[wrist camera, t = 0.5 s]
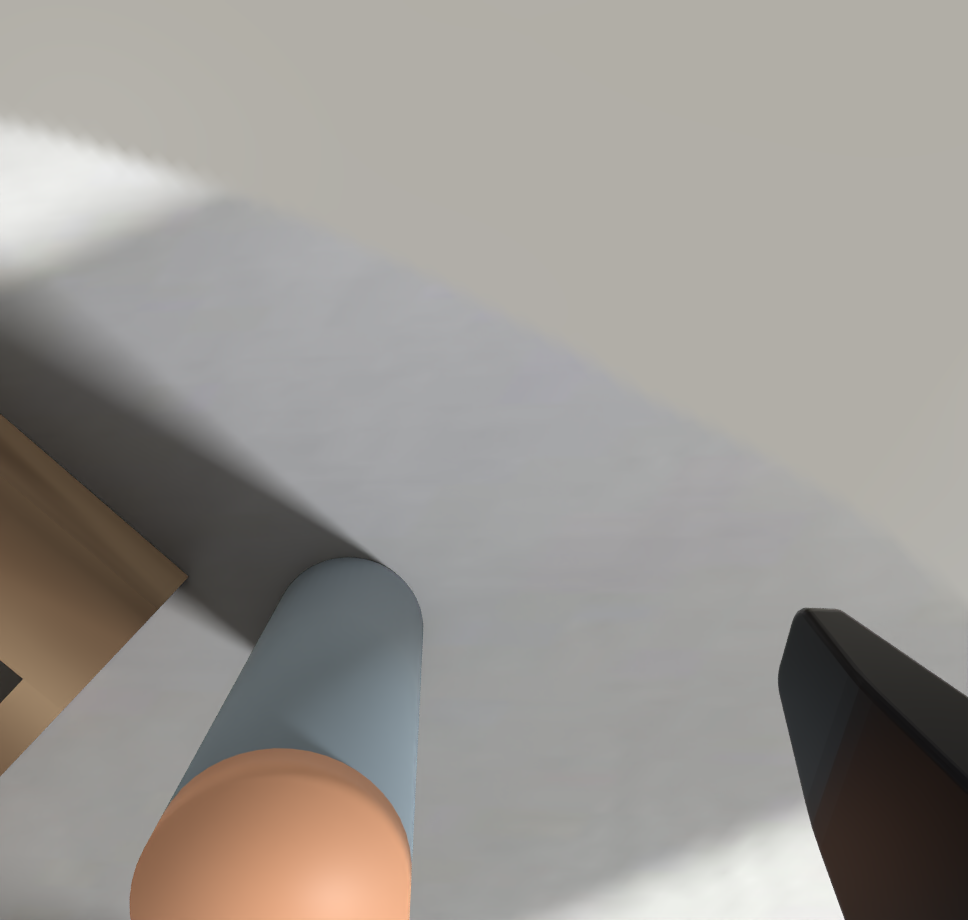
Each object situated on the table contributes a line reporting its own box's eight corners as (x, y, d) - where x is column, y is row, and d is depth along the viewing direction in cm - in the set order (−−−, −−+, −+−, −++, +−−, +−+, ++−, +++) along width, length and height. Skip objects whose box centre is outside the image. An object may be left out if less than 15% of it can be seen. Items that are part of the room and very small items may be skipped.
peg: (353, 727, 28) (280, 1080, 15) (243, 632, 27) (71, 917, 14) (453, 625, 28) (467, 898, 15) (344, 526, 27) (259, 723, 14)
